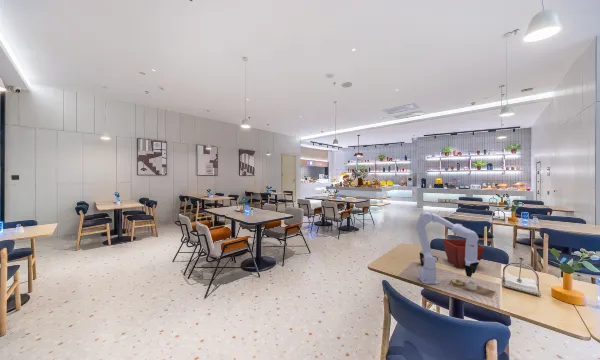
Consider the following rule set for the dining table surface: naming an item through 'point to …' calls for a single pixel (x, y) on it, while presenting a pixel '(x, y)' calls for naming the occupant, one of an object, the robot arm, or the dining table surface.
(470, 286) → the cream gear ring
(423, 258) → the coffee mug
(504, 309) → the dining table surface
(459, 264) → the plant pot
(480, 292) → the walnut gear board
